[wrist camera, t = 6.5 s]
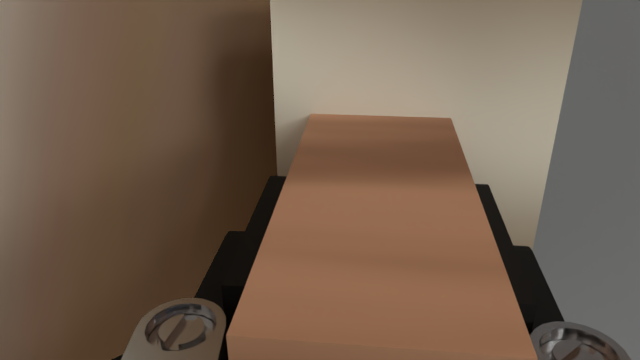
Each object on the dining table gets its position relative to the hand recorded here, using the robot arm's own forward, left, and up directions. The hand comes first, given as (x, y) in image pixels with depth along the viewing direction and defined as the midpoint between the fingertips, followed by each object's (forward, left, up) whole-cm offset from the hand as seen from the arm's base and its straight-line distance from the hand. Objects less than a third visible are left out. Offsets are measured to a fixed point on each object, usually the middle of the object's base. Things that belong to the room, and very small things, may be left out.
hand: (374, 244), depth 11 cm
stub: (0, +1, -2) cm, 2 cm away
